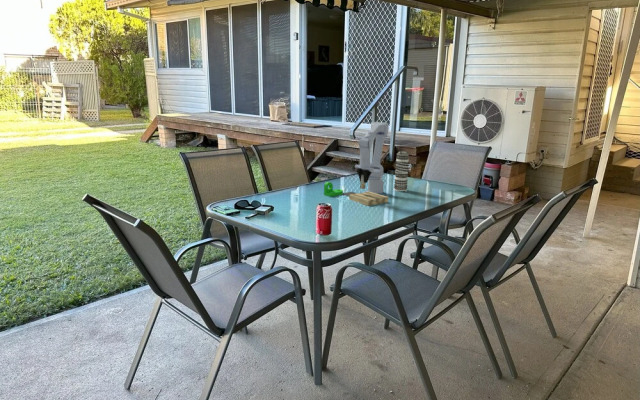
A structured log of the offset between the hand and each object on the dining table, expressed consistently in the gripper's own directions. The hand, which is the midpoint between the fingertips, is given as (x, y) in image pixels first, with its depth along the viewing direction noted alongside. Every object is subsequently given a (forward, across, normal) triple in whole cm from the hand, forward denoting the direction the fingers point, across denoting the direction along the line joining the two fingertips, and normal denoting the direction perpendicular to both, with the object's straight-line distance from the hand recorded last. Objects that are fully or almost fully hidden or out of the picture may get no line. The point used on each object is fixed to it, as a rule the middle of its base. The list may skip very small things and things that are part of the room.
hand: (363, 182), depth 252 cm
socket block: (+10, +5, 0) cm, 12 cm away
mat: (+10, -12, +1) cm, 16 cm away
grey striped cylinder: (+10, -5, +37) cm, 39 cm away
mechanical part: (+10, -17, -8) cm, 21 cm away
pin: (+4, 0, 0) cm, 4 cm away
